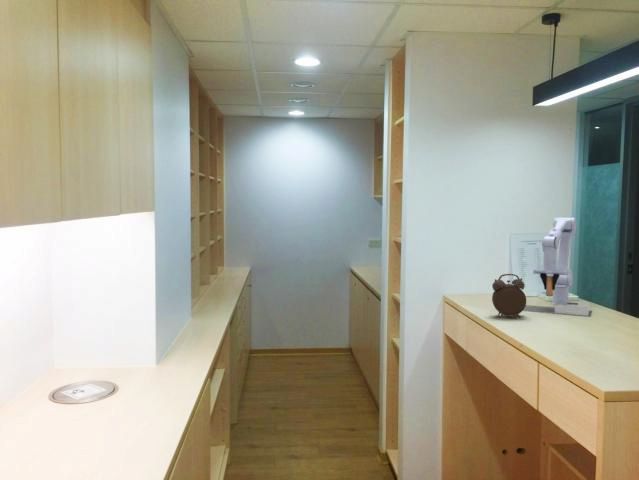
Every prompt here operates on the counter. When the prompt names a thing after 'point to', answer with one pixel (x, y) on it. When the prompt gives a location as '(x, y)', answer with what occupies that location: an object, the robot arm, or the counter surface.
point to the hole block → (572, 307)
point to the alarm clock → (509, 296)
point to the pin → (549, 285)
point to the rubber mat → (546, 310)
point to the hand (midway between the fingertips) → (549, 289)
